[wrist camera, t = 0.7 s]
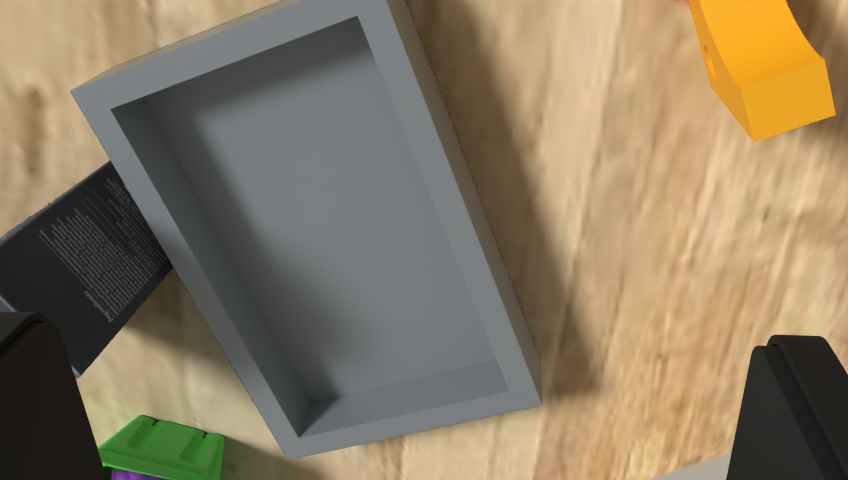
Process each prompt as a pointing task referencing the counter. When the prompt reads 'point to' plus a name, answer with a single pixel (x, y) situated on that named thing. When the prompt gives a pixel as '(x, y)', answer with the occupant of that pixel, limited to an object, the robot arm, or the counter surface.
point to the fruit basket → (161, 452)
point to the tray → (322, 220)
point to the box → (83, 264)
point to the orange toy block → (762, 65)
